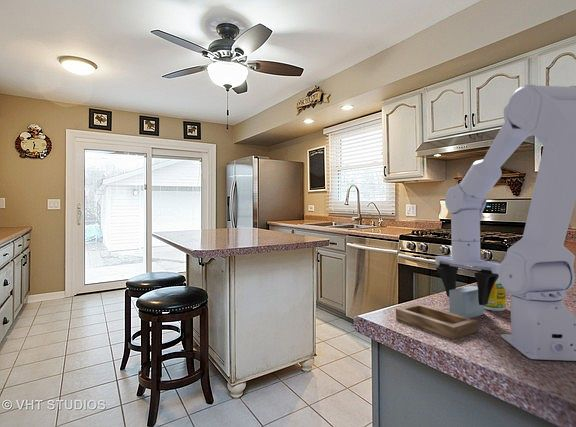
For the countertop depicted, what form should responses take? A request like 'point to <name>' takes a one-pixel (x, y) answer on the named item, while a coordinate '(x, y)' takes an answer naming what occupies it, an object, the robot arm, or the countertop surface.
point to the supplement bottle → (497, 298)
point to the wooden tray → (437, 320)
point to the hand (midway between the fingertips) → (466, 300)
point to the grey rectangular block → (465, 302)
